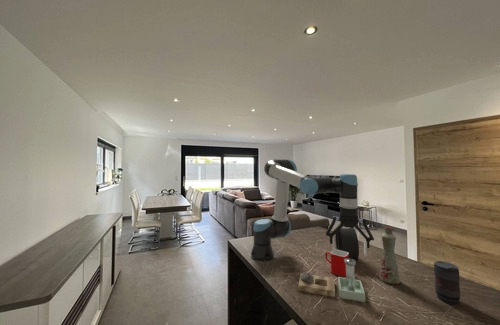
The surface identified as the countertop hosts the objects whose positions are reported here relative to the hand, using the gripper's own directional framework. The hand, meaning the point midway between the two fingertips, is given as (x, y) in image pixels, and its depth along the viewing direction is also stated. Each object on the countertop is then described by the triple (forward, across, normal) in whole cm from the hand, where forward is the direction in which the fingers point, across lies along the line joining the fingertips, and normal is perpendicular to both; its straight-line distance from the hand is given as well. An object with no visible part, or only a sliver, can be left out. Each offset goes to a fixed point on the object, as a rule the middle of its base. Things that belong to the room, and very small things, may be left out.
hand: (349, 252), depth 96 cm
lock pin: (+17, 0, 0) cm, 17 cm away
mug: (+18, -4, +20) cm, 27 cm away
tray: (+18, 0, 0) cm, 18 cm away
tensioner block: (+18, -14, 0) cm, 23 cm away
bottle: (+18, +20, +18) cm, 32 cm away
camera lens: (+18, +40, +8) cm, 44 cm away
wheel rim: (+19, +2, +38) cm, 43 cm away
